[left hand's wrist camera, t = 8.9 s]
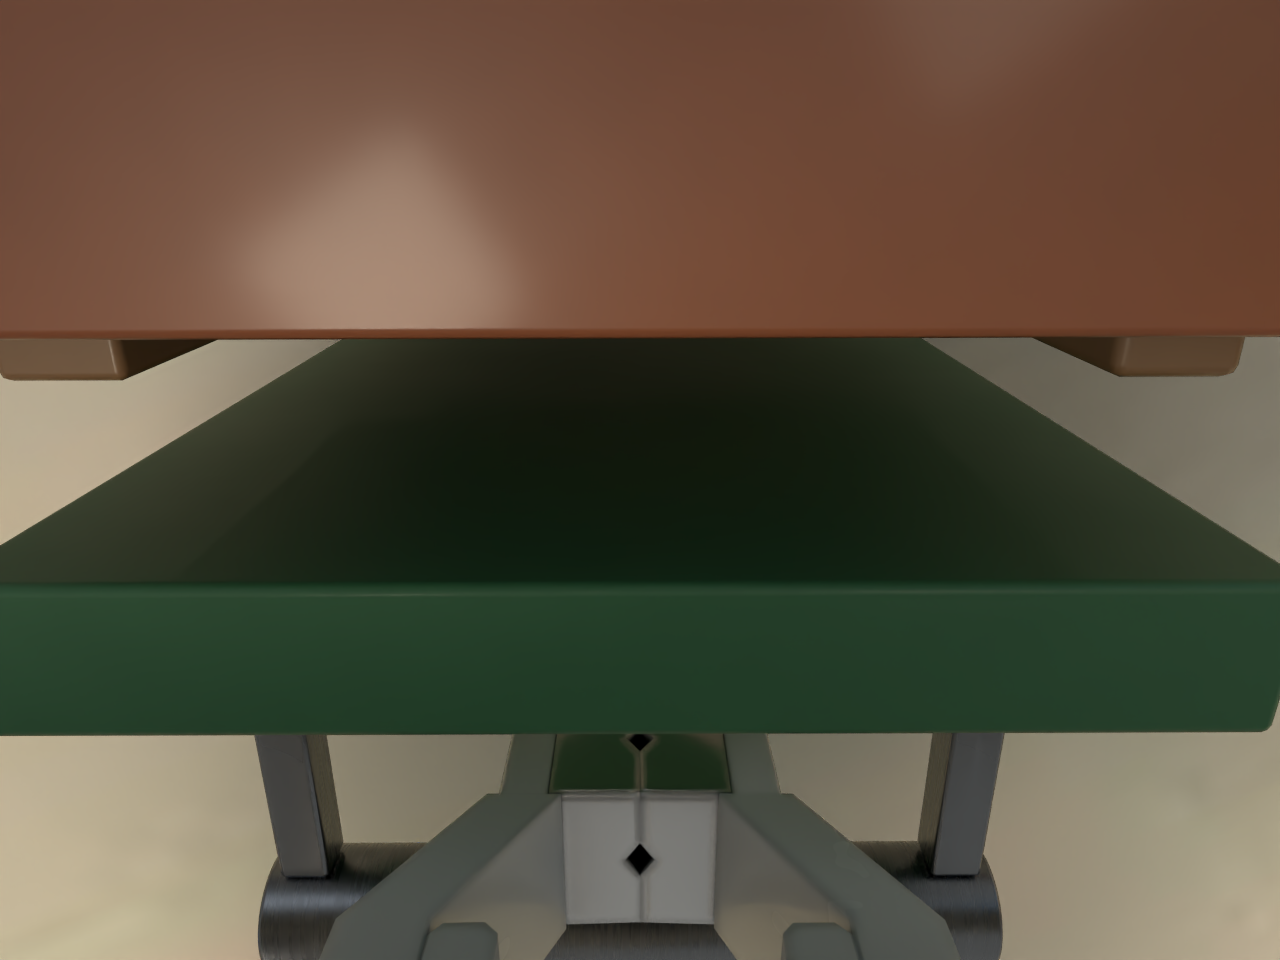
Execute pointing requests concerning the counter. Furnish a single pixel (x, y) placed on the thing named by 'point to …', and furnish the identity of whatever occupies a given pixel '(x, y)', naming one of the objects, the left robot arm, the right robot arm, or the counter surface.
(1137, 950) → the counter surface
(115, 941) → the counter surface
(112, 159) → the cabinet
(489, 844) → the left robot arm
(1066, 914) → the counter surface
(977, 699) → the drawer
